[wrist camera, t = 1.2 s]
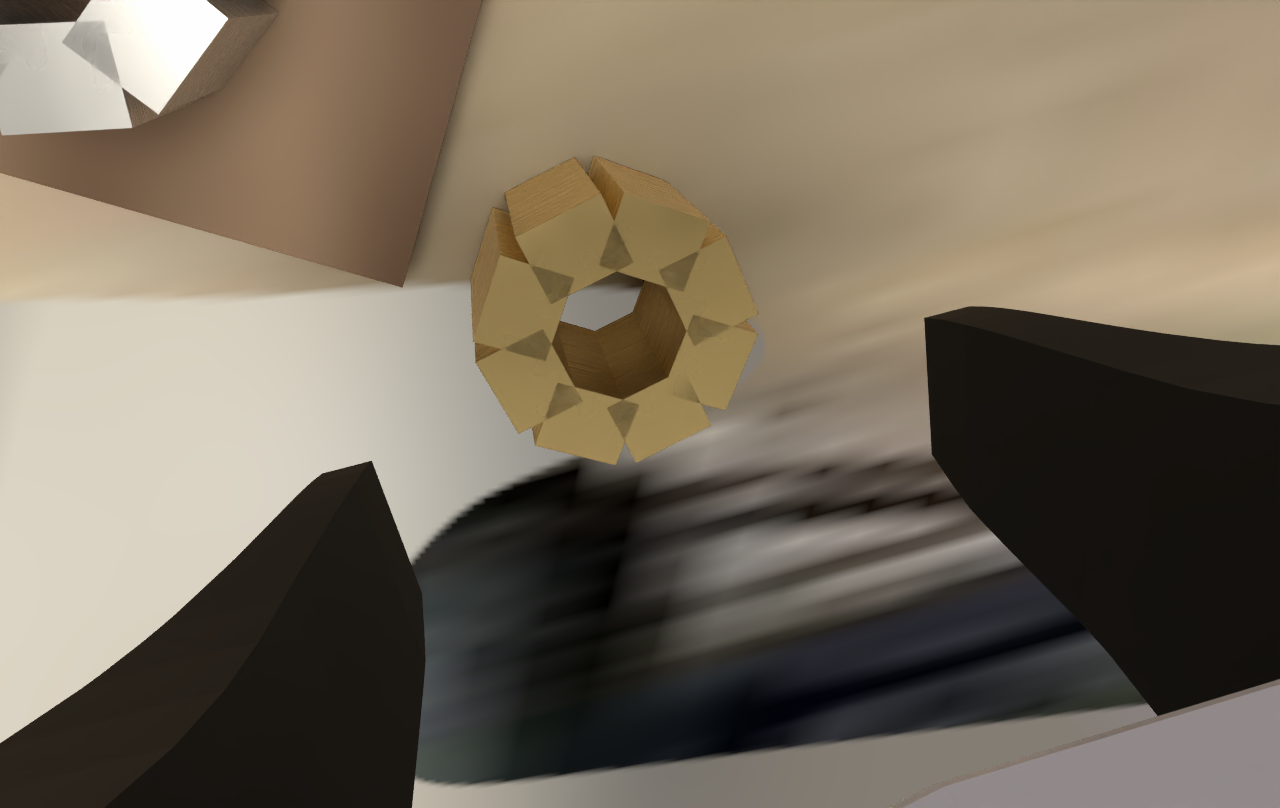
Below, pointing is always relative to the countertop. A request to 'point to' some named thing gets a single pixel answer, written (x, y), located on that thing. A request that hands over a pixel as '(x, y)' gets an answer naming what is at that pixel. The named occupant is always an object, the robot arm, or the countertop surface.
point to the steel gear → (118, 59)
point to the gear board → (291, 137)
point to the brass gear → (625, 349)
